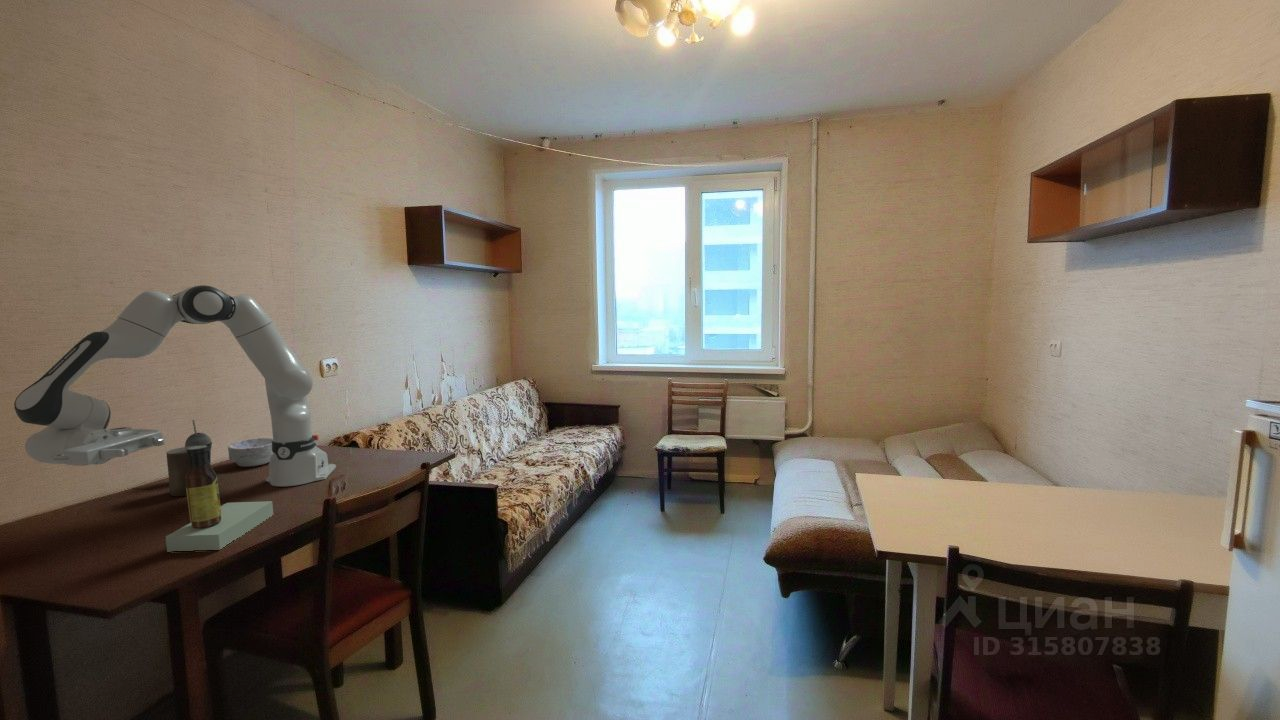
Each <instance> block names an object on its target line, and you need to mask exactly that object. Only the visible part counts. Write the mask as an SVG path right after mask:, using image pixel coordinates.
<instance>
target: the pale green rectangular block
mask: <svg viewBox="0 0 1280 720" xmlns="http://www.w3.org/2000/svg"><path fill="white" fill-rule="evenodd" d="M221 513H222V514H221V521H220V522H219V523H217V524H215V525H212V526H209V527H205V528H193V527H192V524H191V522H190V523H188V524H185V525H184V526H182V527H181V528H179V529H177V530H175V531H173V532H171V533H170V534H167V535H165V545H166V553H167V552H171V551H193V550H220V549H222V548H223V547H225V546H226V545H227V544H229V543H231V542H232V541H233V540H235V541H237V540H238V539H239V537H240V538H241V537H242V535H243V536H244V535H246V534H247V533H248V531H249V532H250V531H252V530H253V529H255V528H256V527H258V526H259V525H260V523H261V524H262V523H264V522H265V521H267V520H269V519H270V518H272V517H273V516H274V506H273V501H271V500H267V501H264V500H263V501H241V502H240V501H239V502H238V501H237V502H226V503H224V504H222V505H221ZM272 515H273V516H272ZM269 517H270V518H269ZM266 519H267V520H266ZM263 521H264V522H263ZM257 525H258V526H257ZM254 527H255V528H254ZM251 529H252V530H251ZM246 532H247V533H246ZM245 533H246V534H245ZM237 538H238V539H237ZM236 539H237V540H236ZM232 543H233V542H232ZM232 543H231V544H232ZM229 545H230V544H229ZM226 547H227V546H226ZM226 547H225V548H226ZM223 549H224V548H223ZM223 549H222V550H223ZM220 551H221V550H220ZM171 553H172V552H171Z"/></svg>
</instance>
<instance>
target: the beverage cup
mask: <svg viewBox="0 0 1280 720" xmlns="http://www.w3.org/2000/svg"><path fill="white" fill-rule="evenodd" d="M192 424H193V425H192V426H193V431H194V433H192V434H190V435H189V436H188V437H187V438H186V440H185V443H184V446H185V445H186V447H189V446H202V445H206V446H207V447H208V452H207V453H208V460H209V463H210V465H211V464H212V463H211V462H212V461H211V459H212V457H211V456H212V455H211V454H212V453H211V452H212V445H213V442H212V439H211V436H209V435H208V434H206V433H204V432H197V427H196V423H195V420H193V419H192ZM211 466H212V465H211Z"/></svg>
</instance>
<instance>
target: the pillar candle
mask: <svg viewBox="0 0 1280 720" xmlns="http://www.w3.org/2000/svg"><path fill="white" fill-rule="evenodd" d="M190 447H194V446H189V447H186V445H185V444H184V446H183V447H177V448H174V449H170V450H167V451H166V452H165V453H166V463H167V464H166V465H167V472H168V473H167V474H168V485H169V493H170V496H171V495H172V497H185V496H186V497H187V492H186V480H185V476H186V473H187V472H188V470H189V467H190V465H189V456H188V454H187V449H188V448H190Z"/></svg>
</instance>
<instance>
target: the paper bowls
mask: <svg viewBox="0 0 1280 720" xmlns="http://www.w3.org/2000/svg"><path fill="white" fill-rule="evenodd" d="M272 441H273V437H258V438H257V437H256V438H248V439H244V440H239V441H235V442H233V443H230V444H229V445H228V447H227V451H228V452H227V453H228V459H229V461H232V462H236V464H237V465H238V466H239V467H243V468H246V467H247V468H248V467H249V468H250V467H251V466H252V467H257V466H261V465H266V464H268V463H269V462H270V457H271V456H272V455H273V452H272V446H271V445H272Z"/></svg>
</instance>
